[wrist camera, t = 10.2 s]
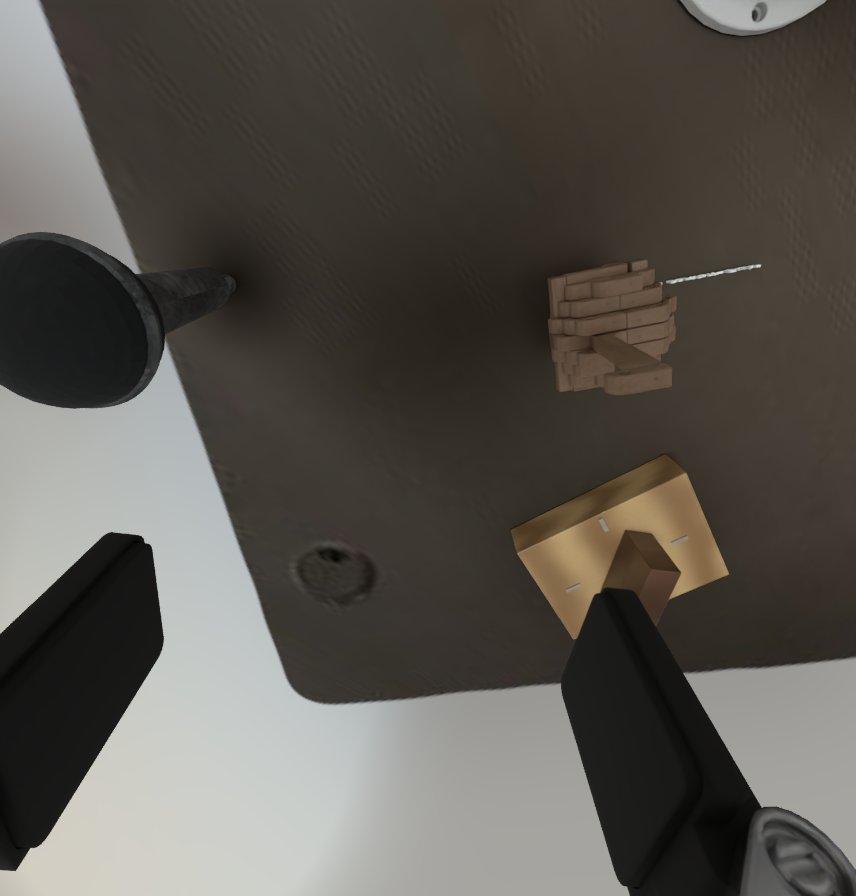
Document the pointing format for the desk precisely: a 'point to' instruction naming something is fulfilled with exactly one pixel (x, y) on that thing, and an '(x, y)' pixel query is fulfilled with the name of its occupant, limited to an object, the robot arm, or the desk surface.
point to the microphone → (90, 320)
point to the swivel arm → (644, 571)
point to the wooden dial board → (617, 537)
